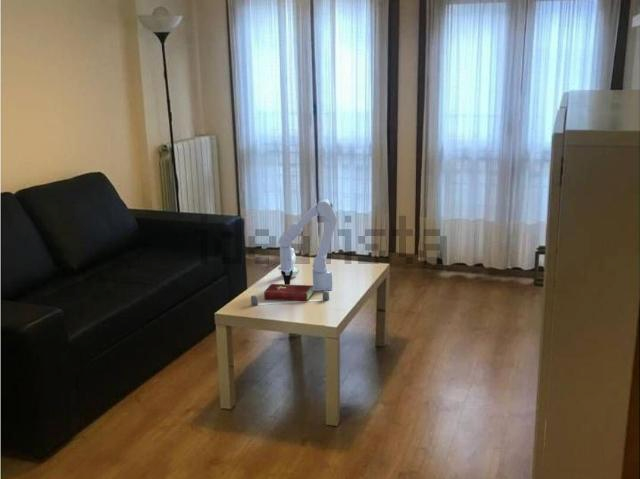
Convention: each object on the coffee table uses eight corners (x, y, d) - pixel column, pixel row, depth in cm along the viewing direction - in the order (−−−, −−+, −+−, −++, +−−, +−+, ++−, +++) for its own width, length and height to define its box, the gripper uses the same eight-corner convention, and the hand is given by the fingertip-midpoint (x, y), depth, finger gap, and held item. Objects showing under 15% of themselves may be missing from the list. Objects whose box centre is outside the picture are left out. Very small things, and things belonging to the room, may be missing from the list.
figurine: (301, 273, 346) (299, 246, 342) (297, 279, 337) (295, 250, 333) (287, 273, 347) (286, 245, 343) (283, 278, 338) (282, 250, 334)
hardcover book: (307, 301, 302) (307, 293, 301) (264, 299, 307) (263, 291, 306) (313, 293, 314) (313, 285, 313) (271, 291, 319) (271, 283, 318)
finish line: (328, 298, 306) (328, 290, 305) (329, 300, 303) (329, 292, 302) (251, 303, 302) (250, 295, 301) (251, 306, 299) (251, 297, 298)
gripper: (277, 255, 324) (278, 281, 328) (278, 263, 310) (280, 290, 314) (291, 254, 325) (292, 280, 328) (293, 262, 311) (294, 289, 315)
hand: (287, 285), depth 321 cm, fingers closed
